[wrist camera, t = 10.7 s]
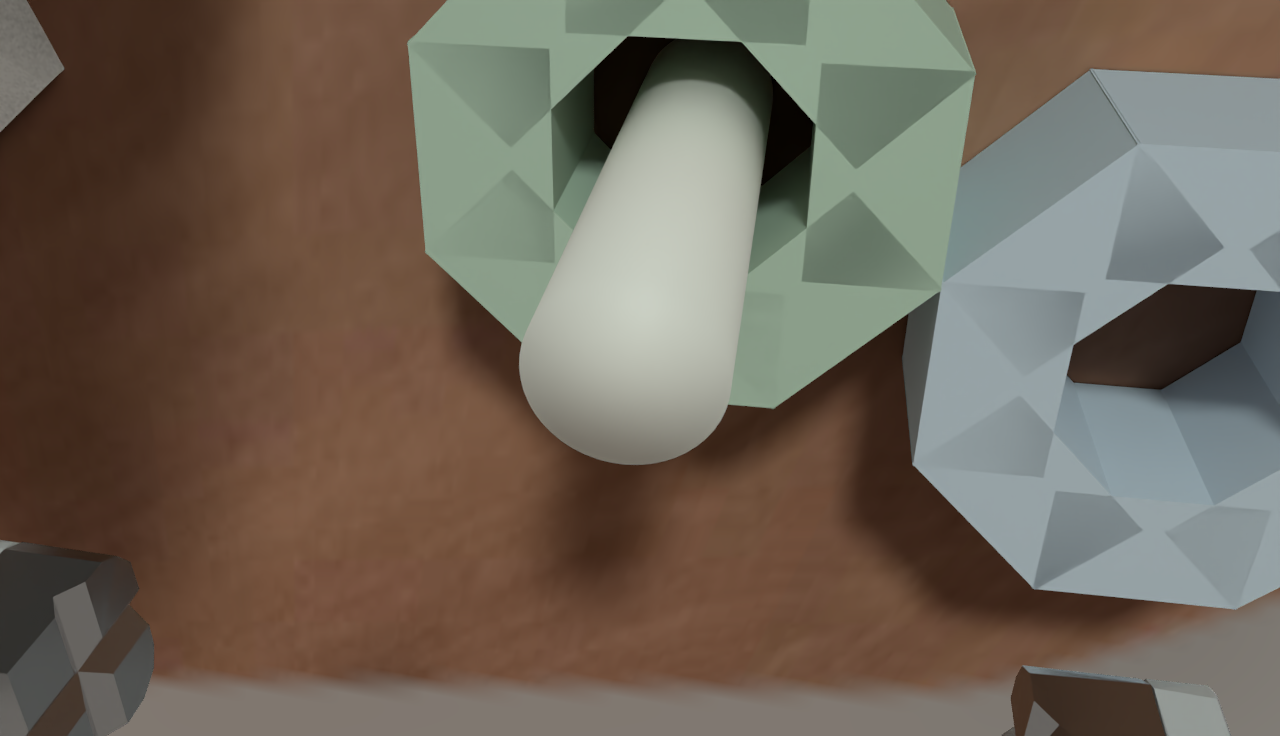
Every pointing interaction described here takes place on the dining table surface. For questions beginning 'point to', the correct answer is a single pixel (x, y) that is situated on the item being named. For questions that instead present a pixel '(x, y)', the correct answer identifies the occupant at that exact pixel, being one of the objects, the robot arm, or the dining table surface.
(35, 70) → the cloth
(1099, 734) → the robot arm
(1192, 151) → the bead
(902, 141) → the bead
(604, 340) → the dowel
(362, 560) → the dining table surface
